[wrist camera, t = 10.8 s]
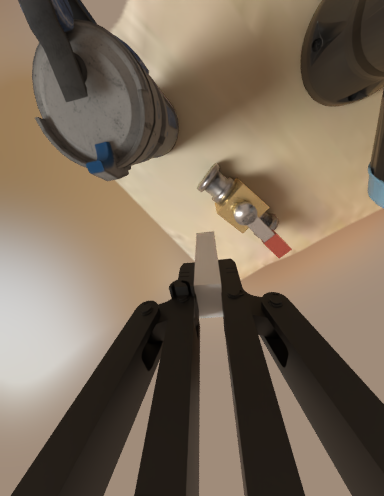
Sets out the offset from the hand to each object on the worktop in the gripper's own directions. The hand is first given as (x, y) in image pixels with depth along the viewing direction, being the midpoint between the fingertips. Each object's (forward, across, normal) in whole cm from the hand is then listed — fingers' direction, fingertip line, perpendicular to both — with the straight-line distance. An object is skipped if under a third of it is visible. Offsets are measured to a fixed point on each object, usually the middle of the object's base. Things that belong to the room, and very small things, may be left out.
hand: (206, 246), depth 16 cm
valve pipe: (+26, +7, -4) cm, 28 cm away
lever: (+19, +10, -8) cm, 23 cm away
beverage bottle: (+27, -8, +13) cm, 31 cm away
